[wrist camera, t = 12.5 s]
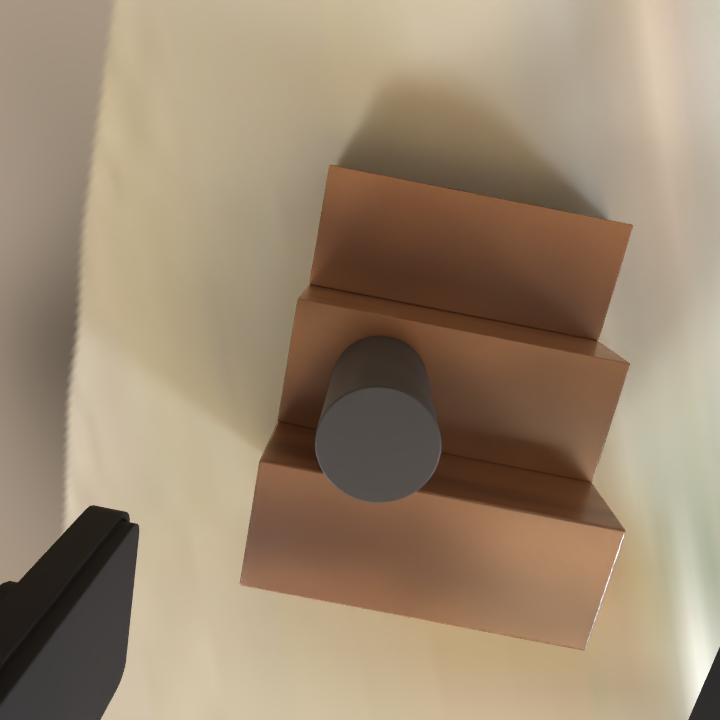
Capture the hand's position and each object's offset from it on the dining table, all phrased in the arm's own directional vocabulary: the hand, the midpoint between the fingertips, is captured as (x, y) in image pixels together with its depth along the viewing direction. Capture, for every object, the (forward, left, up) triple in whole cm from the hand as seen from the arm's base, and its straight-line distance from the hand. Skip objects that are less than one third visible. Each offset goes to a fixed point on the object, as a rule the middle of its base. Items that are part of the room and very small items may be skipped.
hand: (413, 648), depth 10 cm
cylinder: (+1, -1, -17) cm, 17 cm away
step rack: (+1, +2, -24) cm, 24 cm away
